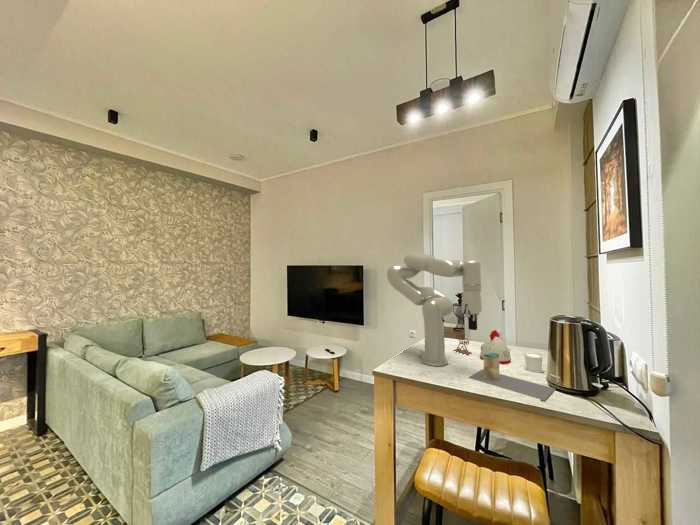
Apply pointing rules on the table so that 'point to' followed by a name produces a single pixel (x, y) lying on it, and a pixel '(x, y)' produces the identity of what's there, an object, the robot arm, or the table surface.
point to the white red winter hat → (496, 348)
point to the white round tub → (533, 362)
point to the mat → (517, 385)
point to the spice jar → (491, 366)
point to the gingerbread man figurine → (463, 344)
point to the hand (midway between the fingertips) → (472, 329)
